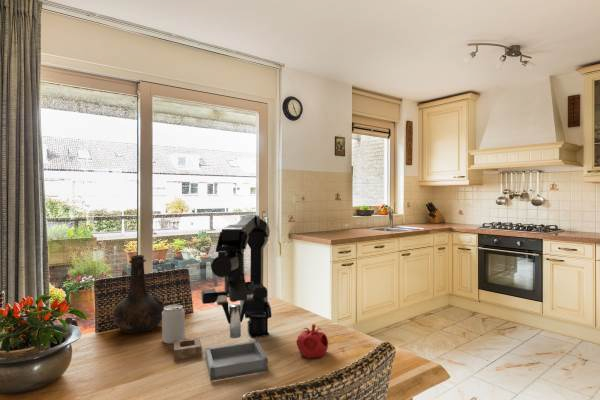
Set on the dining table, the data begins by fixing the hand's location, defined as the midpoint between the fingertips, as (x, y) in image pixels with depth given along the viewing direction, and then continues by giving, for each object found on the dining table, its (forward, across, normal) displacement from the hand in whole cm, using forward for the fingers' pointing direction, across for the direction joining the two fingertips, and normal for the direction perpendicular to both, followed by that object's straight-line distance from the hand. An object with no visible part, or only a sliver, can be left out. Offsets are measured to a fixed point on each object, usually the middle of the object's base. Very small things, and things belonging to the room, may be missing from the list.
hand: (235, 322), depth 109 cm
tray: (+13, 0, 0) cm, 13 cm away
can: (+13, -17, +26) cm, 34 cm away
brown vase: (+13, -29, +43) cm, 53 cm away
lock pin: (+4, 0, 0) cm, 4 cm away
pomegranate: (+13, +24, -1) cm, 27 cm away
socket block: (+13, -13, +13) cm, 22 cm away
